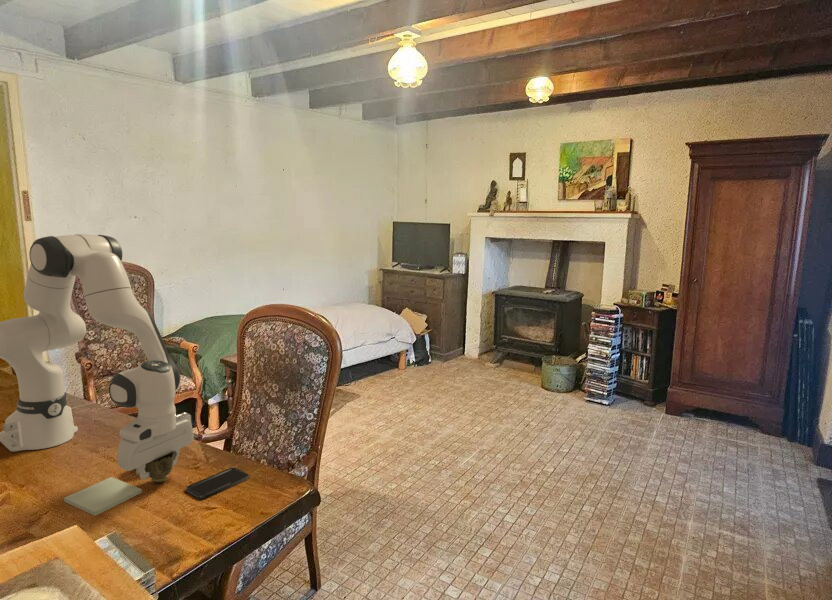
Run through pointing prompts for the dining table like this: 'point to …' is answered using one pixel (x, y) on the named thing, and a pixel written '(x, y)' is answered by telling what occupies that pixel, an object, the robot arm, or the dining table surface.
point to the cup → (160, 468)
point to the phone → (216, 483)
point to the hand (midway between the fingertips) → (158, 471)
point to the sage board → (102, 496)
